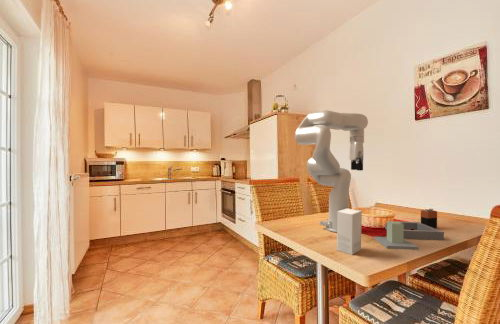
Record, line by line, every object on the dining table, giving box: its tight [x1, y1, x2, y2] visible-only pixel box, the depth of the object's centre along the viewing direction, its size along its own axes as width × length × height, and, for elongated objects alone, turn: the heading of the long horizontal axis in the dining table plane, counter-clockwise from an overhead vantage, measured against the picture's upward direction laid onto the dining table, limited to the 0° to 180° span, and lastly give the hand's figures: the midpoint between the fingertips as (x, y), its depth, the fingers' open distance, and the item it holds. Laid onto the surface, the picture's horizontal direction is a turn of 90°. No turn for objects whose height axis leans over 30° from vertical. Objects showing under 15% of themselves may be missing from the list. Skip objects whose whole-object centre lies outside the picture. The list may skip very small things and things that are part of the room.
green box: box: [386, 220, 405, 243], centre depth 100 cm, size 4×4×8 cm
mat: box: [373, 236, 420, 250], centre depth 100 cm, size 12×12×1 cm
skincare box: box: [336, 208, 363, 256], centre depth 92 cm, size 8×7×16 cm
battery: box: [420, 208, 438, 229], centre depth 126 cm, size 4×7×10 cm, turn 108°
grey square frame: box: [384, 221, 445, 241], centre depth 115 cm, size 18×18×4 cm
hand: (356, 170), depth 134 cm, fingers open, 9 cm apart
